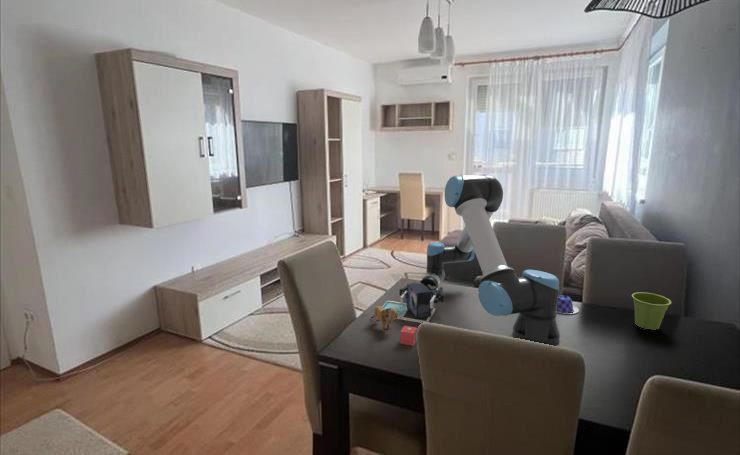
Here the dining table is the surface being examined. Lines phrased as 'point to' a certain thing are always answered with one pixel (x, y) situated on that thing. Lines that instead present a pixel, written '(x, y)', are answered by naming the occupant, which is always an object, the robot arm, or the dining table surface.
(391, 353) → the dining table surface
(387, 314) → the lion figurine
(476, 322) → the dining table surface
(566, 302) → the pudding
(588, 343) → the dining table surface
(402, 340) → the red block
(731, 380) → the dining table surface
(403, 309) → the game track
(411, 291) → the small box
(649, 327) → the plant pot
